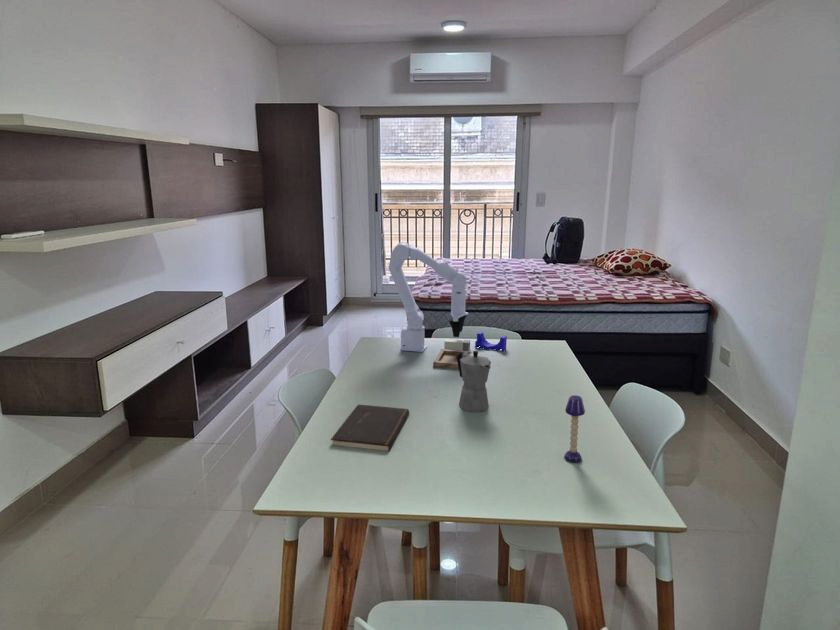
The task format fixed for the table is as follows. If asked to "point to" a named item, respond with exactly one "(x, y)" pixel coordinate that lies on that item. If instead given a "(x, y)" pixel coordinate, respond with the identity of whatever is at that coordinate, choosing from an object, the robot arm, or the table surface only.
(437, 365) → the tray
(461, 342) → the sleeve block
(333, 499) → the table surface
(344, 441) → the hardcover book
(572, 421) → the toy lamp
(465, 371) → the coffeepot
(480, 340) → the cable clip
